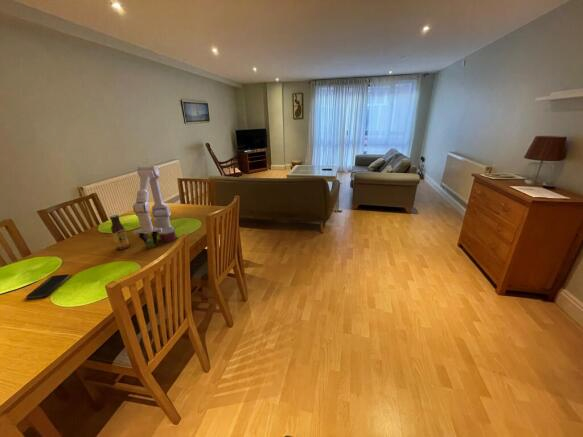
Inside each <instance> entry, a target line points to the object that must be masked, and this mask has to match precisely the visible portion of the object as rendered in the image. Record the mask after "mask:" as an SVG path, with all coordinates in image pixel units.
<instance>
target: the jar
mask: <svg viewBox="0 0 583 437" xmlns="http://www.w3.org/2000/svg"><path fill="white" fill-rule="evenodd" d="M173 227H174V226H172V227H166V228H162V232H158V238H159V241H160V242H161V243H170V242H172V241H175V240H176V239H177V235H176V229H175V227H174V228H173Z"/></svg>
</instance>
